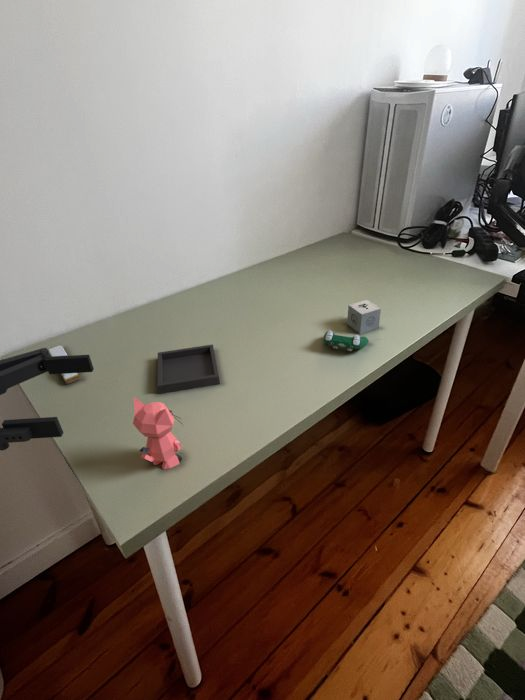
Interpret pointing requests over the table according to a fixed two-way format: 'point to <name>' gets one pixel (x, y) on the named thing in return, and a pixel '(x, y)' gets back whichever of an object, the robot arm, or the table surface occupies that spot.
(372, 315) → the dice cube
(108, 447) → the table surface
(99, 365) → the table surface
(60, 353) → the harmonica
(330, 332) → the green elongated piece
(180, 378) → the black tray
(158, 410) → the cat figurine
